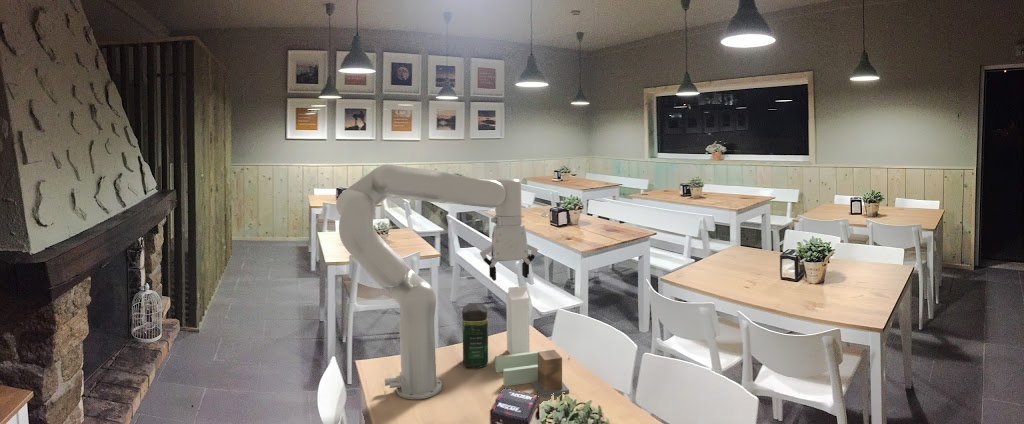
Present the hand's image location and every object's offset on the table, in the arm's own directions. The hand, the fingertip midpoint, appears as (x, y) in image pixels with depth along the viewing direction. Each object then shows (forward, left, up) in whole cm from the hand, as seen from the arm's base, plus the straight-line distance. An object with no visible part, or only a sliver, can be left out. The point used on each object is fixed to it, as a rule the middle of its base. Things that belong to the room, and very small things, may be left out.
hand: (509, 278), depth 160 cm
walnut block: (+7, -15, -28) cm, 32 cm away
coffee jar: (-9, +8, -28) cm, 31 cm away
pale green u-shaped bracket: (+3, -5, -28) cm, 29 cm away
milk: (+6, +12, -28) cm, 32 cm away
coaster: (+7, -15, -28) cm, 33 cm away
